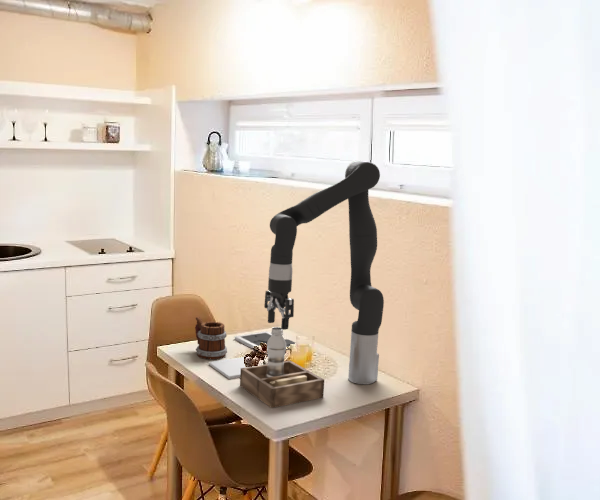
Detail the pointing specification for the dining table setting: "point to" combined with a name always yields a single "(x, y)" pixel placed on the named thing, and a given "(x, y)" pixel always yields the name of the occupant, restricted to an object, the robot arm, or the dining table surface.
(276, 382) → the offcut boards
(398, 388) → the dining table surface
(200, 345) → the mug
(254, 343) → the picture frame
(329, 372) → the dining table surface
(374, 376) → the robot arm
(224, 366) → the grey plate
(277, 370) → the plastic bottle
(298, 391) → the walnut divided box
